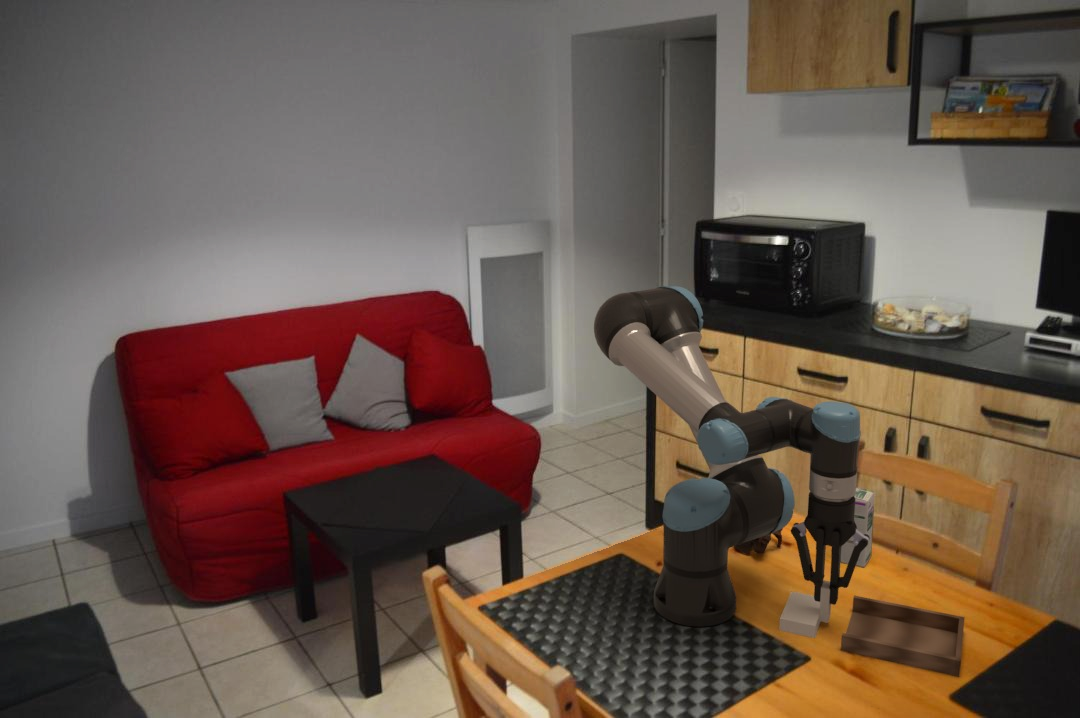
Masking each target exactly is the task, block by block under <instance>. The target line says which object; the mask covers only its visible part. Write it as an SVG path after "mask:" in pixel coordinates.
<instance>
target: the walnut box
mask: <svg viewBox="0 0 1080 718" xmlns="http://www.w3.org/2000/svg"><path fill="white" fill-rule="evenodd" d="M851 612H852V613H851V615H850V619H849V622H848V625H847V628H846V631H845V633H844V632H842V634H841V637H840V638H841V641H840V642H841V643H840V651H841V652H846V653H851V654H855V655H860V656H863V657H869V658H871V659H877V660H882V661H886V662H890V663H895V664H900V665H904V666H909V667H913V668H918V669H922V670H926V671H932V672H936V673H940V674H944V675H947V676H952V677H953V676H954V677H958V678H959V677H960V675H961V664H962V653H963V652H962V651H963V642H964V629H965V617H964V616H960V615H956V614H950V613H945V612H941V611H936V610H930V609H924V608H920V607H916V606H910V605H906V604H905V605H904V604H900V603H895V602H891V601H890V602H889V601H885V600H879V599H875V598H874V599H873V598H870V597H864V596H859V595H853V599H852V611H851Z"/></svg>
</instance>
